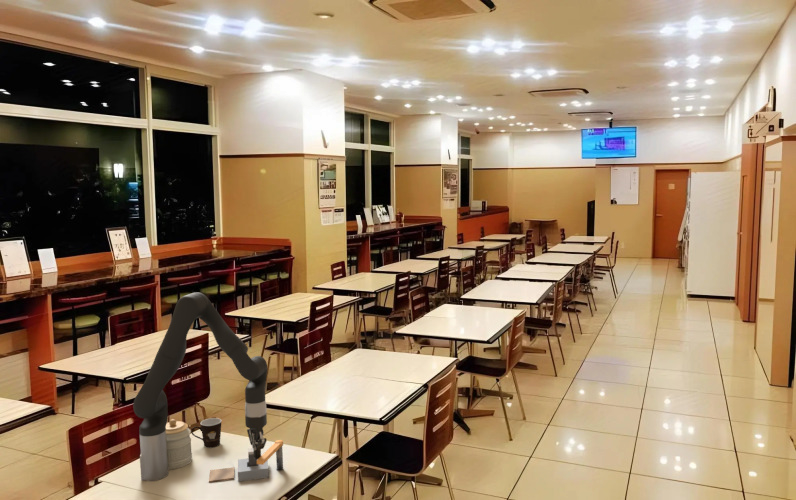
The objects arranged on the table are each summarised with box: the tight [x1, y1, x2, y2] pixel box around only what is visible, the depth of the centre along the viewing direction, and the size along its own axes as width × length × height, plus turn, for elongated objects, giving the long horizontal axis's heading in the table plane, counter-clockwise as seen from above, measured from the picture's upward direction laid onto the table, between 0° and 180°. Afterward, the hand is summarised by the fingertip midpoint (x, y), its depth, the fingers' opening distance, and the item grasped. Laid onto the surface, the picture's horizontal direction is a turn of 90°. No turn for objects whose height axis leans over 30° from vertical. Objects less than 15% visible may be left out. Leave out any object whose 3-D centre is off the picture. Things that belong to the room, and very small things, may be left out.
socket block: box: [237, 458, 270, 482], centre depth 233 cm, size 11×11×4 cm
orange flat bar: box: [257, 439, 284, 465], centre depth 227 cm, size 18×3×1 cm, turn 167°
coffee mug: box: [190, 417, 222, 449], centre depth 259 cm, size 12×9×10 cm
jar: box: [166, 418, 193, 470], centre depth 242 cm, size 13×13×18 cm
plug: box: [247, 447, 257, 467], centre depth 232 cm, size 3×3×9 cm
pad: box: [208, 466, 235, 483], centre depth 231 cm, size 9×9×1 cm
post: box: [275, 446, 284, 472], centre depth 235 cm, size 2×2×9 cm
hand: (257, 458), depth 222 cm, fingers closed
